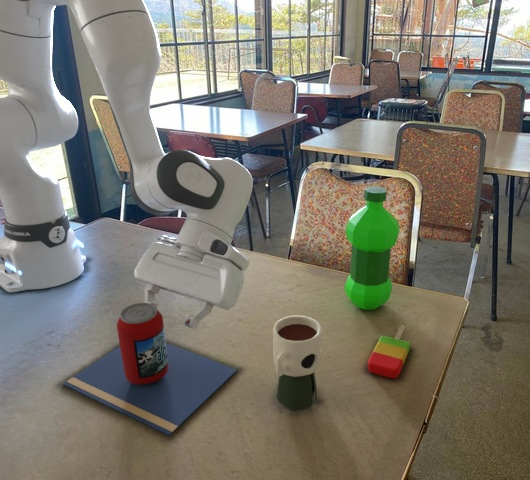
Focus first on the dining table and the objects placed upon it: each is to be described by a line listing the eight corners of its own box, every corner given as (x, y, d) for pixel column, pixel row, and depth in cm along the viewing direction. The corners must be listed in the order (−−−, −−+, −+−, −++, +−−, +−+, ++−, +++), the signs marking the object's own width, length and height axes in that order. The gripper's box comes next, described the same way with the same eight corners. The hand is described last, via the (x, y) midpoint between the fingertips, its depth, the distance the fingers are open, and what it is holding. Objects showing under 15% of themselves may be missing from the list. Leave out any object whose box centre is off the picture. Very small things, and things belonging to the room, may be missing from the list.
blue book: (63, 384, 76) (62, 383, 76) (139, 333, 89) (139, 332, 89) (169, 435, 67) (169, 434, 67) (237, 370, 80) (237, 369, 80)
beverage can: (156, 391, 75) (147, 326, 70) (117, 384, 76) (105, 320, 71) (176, 364, 81) (169, 303, 76) (140, 358, 82) (130, 298, 77)
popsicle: (365, 372, 81) (366, 363, 80) (388, 326, 93) (389, 318, 93) (397, 381, 79) (398, 372, 78) (416, 333, 92) (417, 325, 91)
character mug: (299, 430, 69) (300, 356, 63) (257, 412, 72) (255, 340, 66) (332, 385, 78) (335, 316, 72) (294, 371, 80) (294, 304, 75)
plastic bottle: (338, 312, 98) (343, 195, 88) (349, 288, 107) (355, 179, 97) (387, 320, 95) (398, 201, 85) (394, 295, 105) (405, 184, 95)
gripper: (147, 226, 86) (110, 298, 82) (241, 250, 77) (206, 332, 73) (167, 240, 91) (134, 308, 87) (257, 264, 83) (225, 341, 79)
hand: (167, 319), depth 80 cm, fingers open, 8 cm apart
